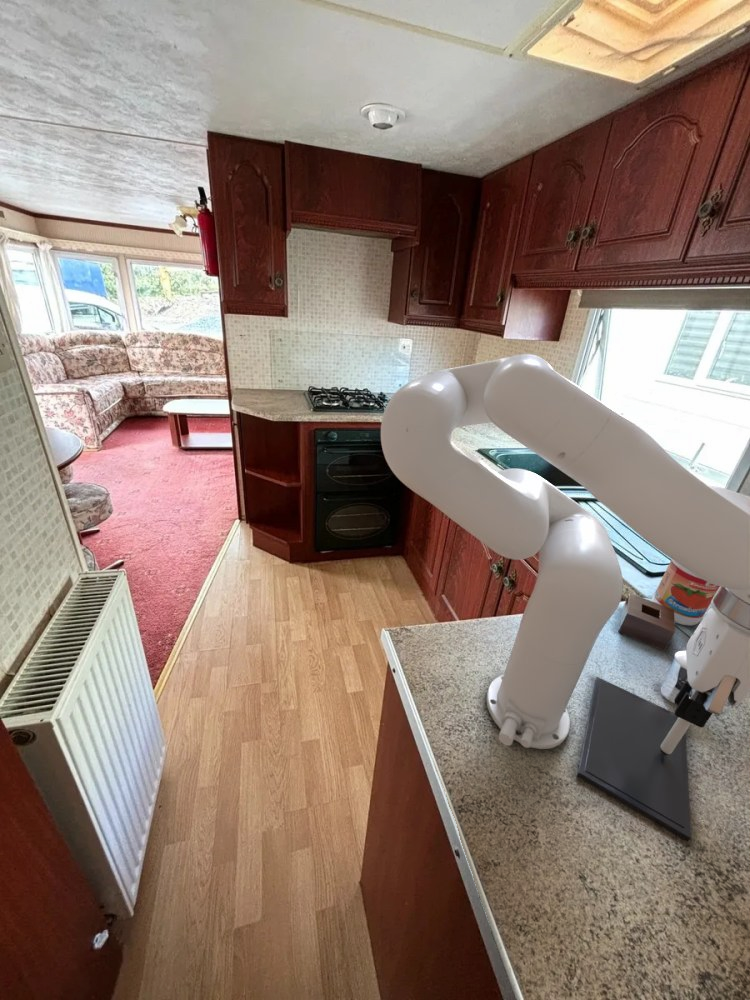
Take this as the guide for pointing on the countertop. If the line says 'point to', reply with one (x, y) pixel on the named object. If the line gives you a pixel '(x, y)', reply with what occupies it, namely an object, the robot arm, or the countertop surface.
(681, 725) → the stylus
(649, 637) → the pen stand
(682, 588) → the fruit juice
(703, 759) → the countertop surface
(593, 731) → the tablet
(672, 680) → the milkshake
